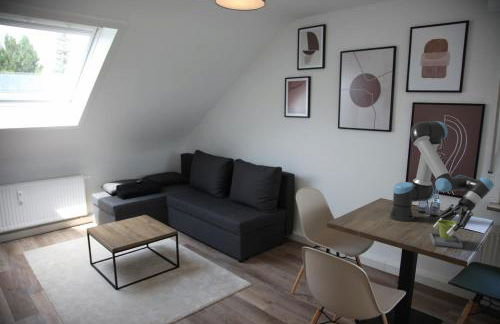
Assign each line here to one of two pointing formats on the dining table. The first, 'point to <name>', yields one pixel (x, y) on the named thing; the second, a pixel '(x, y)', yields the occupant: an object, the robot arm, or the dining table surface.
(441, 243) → the tray
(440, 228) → the plant pot
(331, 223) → the dining table surface
